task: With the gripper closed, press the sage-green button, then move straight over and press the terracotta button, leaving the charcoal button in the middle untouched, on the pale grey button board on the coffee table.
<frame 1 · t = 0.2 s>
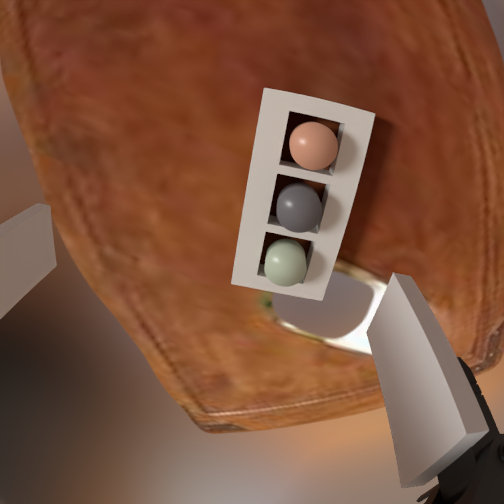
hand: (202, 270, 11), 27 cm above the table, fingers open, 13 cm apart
button sage: (285, 262, 37), point 4 cm above the table, slide at 0.0 cm
button charcoal: (298, 207, 34), point 4 cm above the table, slide at 0.0 cm
button terracotta: (312, 144, 30), point 4 cm above the table, slide at 0.0 cm
board: (297, 196, 37), on the table
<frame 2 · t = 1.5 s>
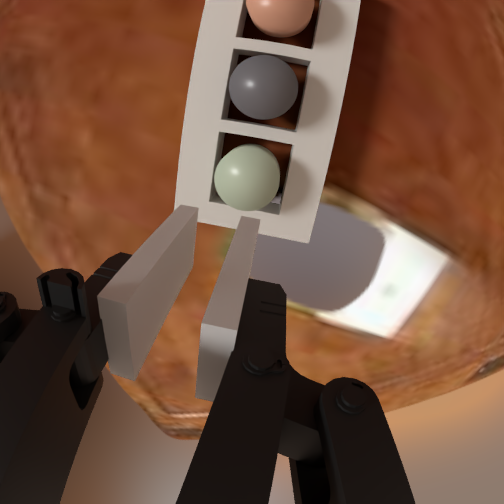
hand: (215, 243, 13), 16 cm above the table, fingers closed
button sage: (248, 175, 24), point 4 cm above the table, slide at 0.0 cm
button charcoal: (264, 88, 21), point 4 cm above the table, slide at 0.0 cm
button terracotta: (280, 6, 18), point 4 cm above the table, slide at 0.0 cm
board: (267, 91, 24), on the table
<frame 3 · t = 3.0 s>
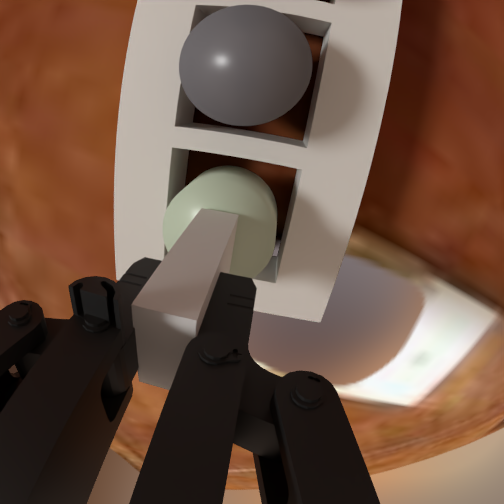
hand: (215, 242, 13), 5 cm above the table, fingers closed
button sage: (223, 223, 14), point 4 cm above the table, slide at 0.2 cm, touching gripper
button charcoal: (248, 67, 11), point 4 cm above the table, slide at 0.0 cm
board: (256, 76, 14), on the table
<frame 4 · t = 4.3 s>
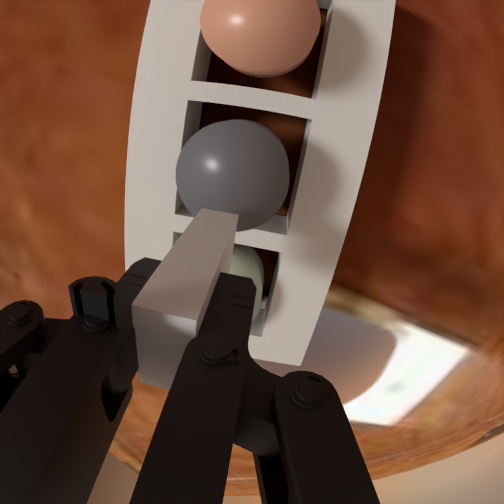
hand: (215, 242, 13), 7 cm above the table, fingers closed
button sage: (221, 284, 18), point 3 cm above the table, slide at 1.3 cm
button charcoal: (236, 171, 14), point 4 cm above the table, slide at 0.0 cm
button terracotta: (262, 25, 11), point 4 cm above the table, slide at 0.0 cm
board: (245, 158, 18), on the table
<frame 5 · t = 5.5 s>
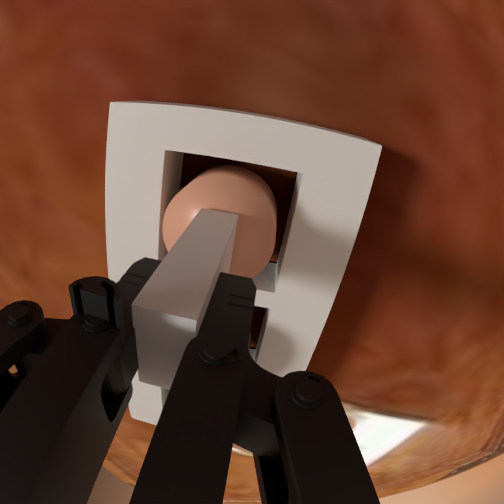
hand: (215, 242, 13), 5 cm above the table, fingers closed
button charcoal: (204, 349, 16), point 4 cm above the table, slide at 0.0 cm
button terracotta: (223, 223, 14), point 3 cm above the table, slide at 1.1 cm, touching gripper
board: (217, 308, 20), on the table
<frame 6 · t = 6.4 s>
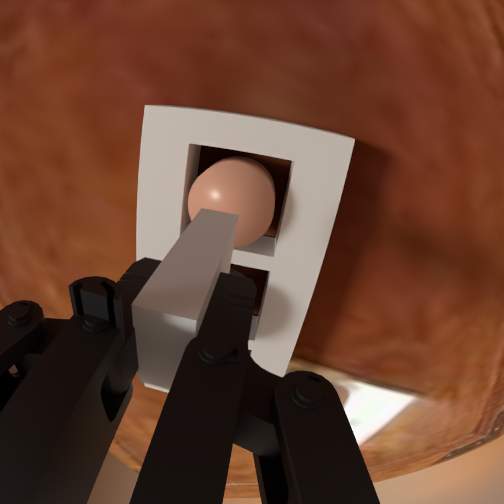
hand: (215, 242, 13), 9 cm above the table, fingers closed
button charcoal: (216, 308, 20), point 4 cm above the table, slide at 0.0 cm
button terracotta: (234, 199, 18), point 3 cm above the table, slide at 1.3 cm
board: (225, 278, 24), on the table
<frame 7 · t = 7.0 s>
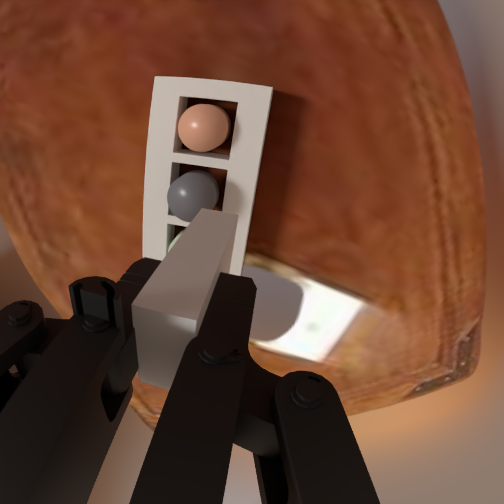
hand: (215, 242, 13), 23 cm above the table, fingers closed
button sage: (191, 250, 36), point 3 cm above the table, slide at 1.3 cm
button charcoal: (193, 195, 31), point 4 cm above the table, slide at 0.0 cm
button terracotta: (205, 127, 30), point 3 cm above the table, slide at 1.3 cm
board: (203, 186, 35), on the table
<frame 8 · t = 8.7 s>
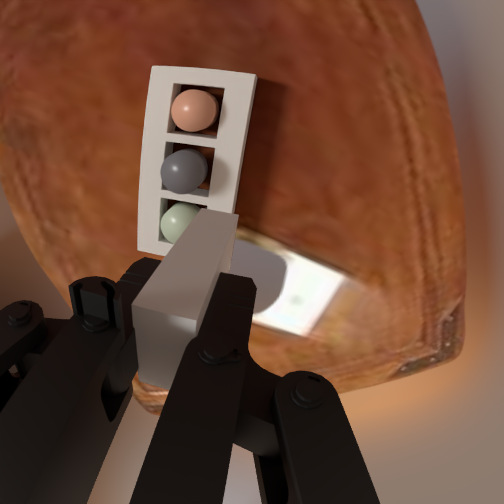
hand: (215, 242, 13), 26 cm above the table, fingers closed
button sage: (182, 222, 39), point 3 cm above the table, slide at 1.3 cm
button charcoal: (184, 170, 34), point 4 cm above the table, slide at 0.0 cm
button terracotta: (195, 110, 32), point 3 cm above the table, slide at 1.3 cm
board: (193, 164, 38), on the table
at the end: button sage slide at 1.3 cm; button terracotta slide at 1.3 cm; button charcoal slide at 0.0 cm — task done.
